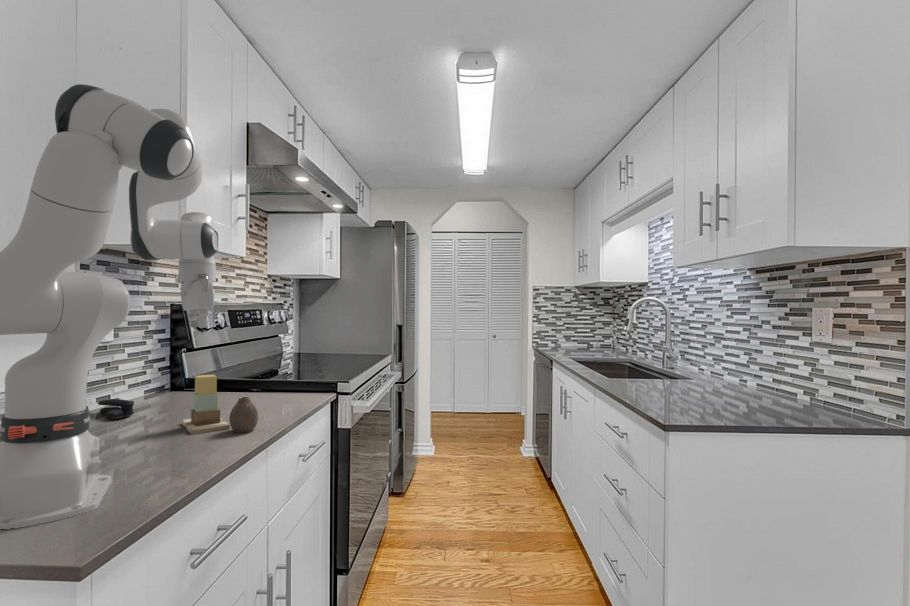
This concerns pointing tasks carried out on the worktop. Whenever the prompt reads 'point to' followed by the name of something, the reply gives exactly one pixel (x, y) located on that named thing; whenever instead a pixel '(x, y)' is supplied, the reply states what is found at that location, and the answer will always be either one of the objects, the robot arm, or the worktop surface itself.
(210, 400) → the sage brick
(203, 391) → the ochre brick
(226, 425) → the board
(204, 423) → the walnut brick
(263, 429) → the worktop surface
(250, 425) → the vase
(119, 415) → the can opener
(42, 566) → the worktop surface
